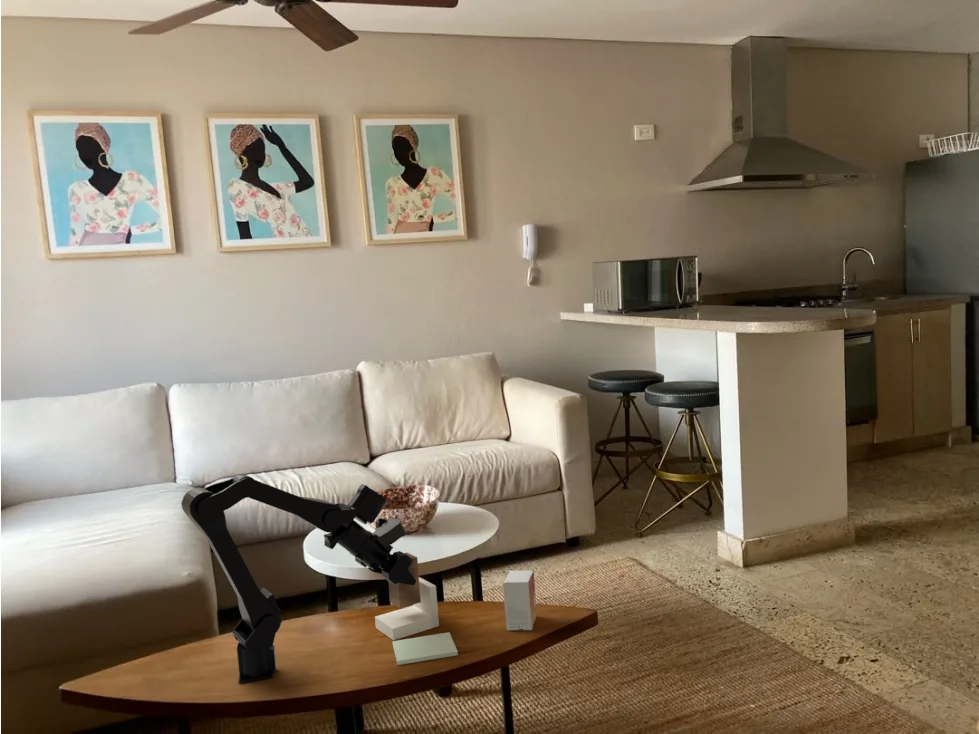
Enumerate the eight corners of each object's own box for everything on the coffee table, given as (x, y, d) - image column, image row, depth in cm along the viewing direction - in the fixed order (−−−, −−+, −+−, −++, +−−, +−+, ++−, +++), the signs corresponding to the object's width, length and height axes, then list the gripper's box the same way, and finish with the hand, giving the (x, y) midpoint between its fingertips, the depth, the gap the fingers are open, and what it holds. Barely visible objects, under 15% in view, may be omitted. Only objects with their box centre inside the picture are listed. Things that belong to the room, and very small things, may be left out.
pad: (397, 665, 156) (397, 661, 156) (392, 645, 166) (392, 641, 166) (457, 655, 159) (457, 651, 159) (449, 635, 168) (449, 632, 168)
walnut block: (400, 608, 171) (396, 562, 170) (390, 601, 175) (386, 557, 175) (420, 602, 174) (417, 557, 173) (410, 596, 178) (406, 552, 177)
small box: (532, 631, 168) (528, 582, 167) (506, 630, 169) (502, 582, 168) (537, 616, 176) (534, 569, 175) (512, 616, 177) (509, 569, 176)
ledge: (393, 640, 168) (389, 598, 168) (375, 627, 176) (372, 587, 175) (439, 626, 174) (435, 585, 173) (420, 614, 182) (416, 575, 181)
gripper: (400, 517, 163) (451, 558, 170) (363, 502, 179) (411, 540, 186) (367, 563, 160) (421, 603, 166) (333, 544, 175) (383, 581, 182)
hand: (409, 580), depth 175 cm, fingers closed on walnut block, 5 cm apart
